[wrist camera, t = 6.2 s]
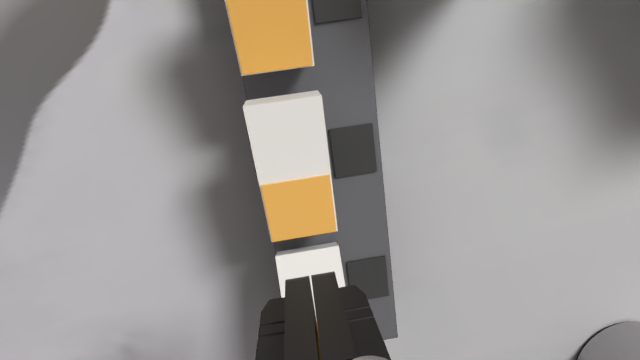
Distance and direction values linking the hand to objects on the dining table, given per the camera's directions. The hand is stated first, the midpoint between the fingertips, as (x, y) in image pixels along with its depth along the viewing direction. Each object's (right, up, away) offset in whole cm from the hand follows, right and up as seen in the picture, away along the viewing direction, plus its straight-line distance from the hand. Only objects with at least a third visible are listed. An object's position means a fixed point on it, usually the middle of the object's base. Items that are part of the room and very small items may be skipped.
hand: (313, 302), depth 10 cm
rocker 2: (-1, +4, +9) cm, 10 cm away
